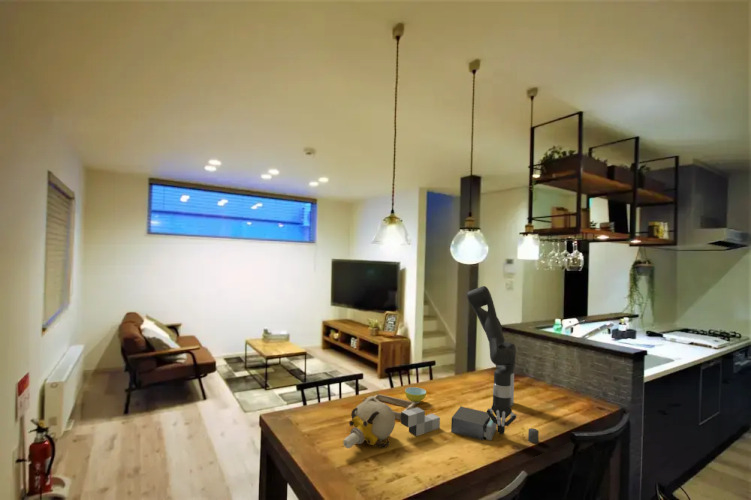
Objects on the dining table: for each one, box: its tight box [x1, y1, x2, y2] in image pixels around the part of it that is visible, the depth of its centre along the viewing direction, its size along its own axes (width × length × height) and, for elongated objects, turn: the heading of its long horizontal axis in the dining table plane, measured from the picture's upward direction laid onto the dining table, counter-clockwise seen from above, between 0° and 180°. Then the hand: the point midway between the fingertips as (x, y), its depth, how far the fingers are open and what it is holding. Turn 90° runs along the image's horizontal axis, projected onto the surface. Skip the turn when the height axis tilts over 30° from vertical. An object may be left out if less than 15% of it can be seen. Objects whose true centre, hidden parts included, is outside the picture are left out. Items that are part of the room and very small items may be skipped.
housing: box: [450, 406, 491, 441], centre depth 168 cm, size 15×14×6 cm
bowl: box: [404, 386, 427, 405], centre depth 198 cm, size 11×12×6 cm
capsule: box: [527, 428, 540, 444], centre depth 159 cm, size 4×4×4 cm
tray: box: [483, 415, 498, 441], centre depth 167 cm, size 12×15×6 cm
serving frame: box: [373, 393, 416, 421], centre depth 188 cm, size 17×22×3 cm
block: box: [400, 406, 441, 437], centre depth 165 cm, size 20×5×10 cm, turn 126°
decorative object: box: [341, 395, 396, 449], centre depth 153 cm, size 15×23×30 cm
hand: (501, 433), depth 162 cm, fingers closed
